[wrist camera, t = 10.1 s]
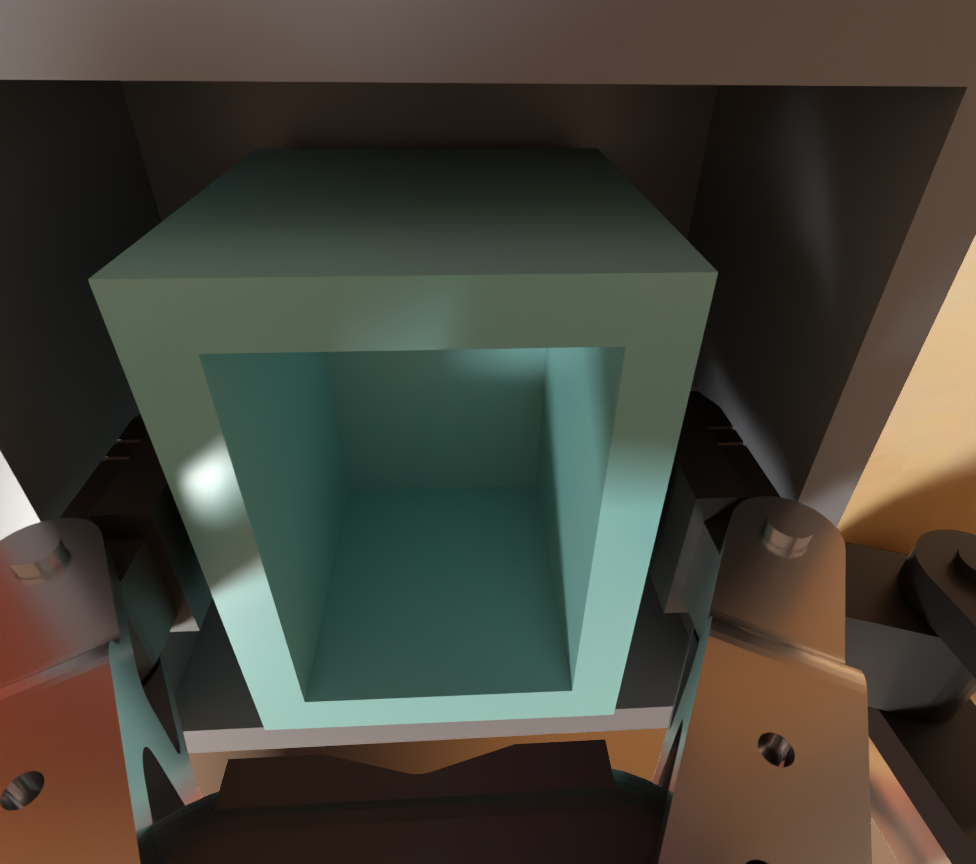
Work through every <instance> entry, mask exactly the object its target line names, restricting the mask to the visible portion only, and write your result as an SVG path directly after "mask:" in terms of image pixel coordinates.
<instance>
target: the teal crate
mask: <svg viewBox="0 0 976 864" xmlns="http://www.w3.org/2000/svg"><path fill="white" fill-rule="evenodd" d="M717 275H718V271H717V270H716V269H715V268H714V267H713V266H712V265H711V264H710V263H709V262H708V261H707V260H706V259H705V258H704V257H703V256H702V255H701V254H700V253H699V252H698V251H697V250H696V249H695V248H694V247H693V246H692V245H691V244H690V243H689V242H688V241H687V240H686V238H685V237H684V236H683V235H682V234H681V233H680V232H679V231H678V230H677V229H676V228H675V227H674V226H673V225H672V224H671V223H670V222H669V221H668V220H667V219H666V218H665V217H664V216H663V215H662V214H661V213H660V212H659V211H658V210H657V209H656V208H655V207H654V206H653V205H652V204H651V203H650V201H649V200H648V199H647V198H646V197H645V196H644V195H643V194H642V193H641V192H640V191H639V190H638V189H637V188H636V187H635V186H634V185H633V184H632V183H631V182H630V181H629V180H628V179H627V178H626V177H625V176H624V175H623V174H622V173H621V172H620V171H619V170H618V169H617V168H616V167H615V166H614V164H613V163H612V162H611V161H610V160H609V159H608V158H607V157H606V156H605V155H604V154H603V153H602V152H601V151H600V150H599V149H598V148H484V149H255V150H254V151H252V152H251V153H250V154H249V155H247V156H246V157H245V158H243V159H242V160H241V161H240V162H238V163H237V164H236V165H234V166H233V167H232V168H231V169H229V170H228V171H227V172H225V173H224V174H223V175H222V176H220V177H219V178H218V179H216V180H215V181H214V182H213V183H211V184H210V185H209V186H207V187H206V188H205V189H204V190H202V191H201V192H200V193H198V194H197V195H196V196H195V197H193V198H192V199H191V200H189V201H188V202H187V203H186V204H184V205H183V206H182V207H180V208H179V209H178V210H177V211H175V212H174V213H173V214H171V215H170V216H169V217H168V218H166V219H165V220H164V221H162V222H161V223H160V224H159V225H157V226H156V227H155V228H153V229H152V230H151V231H149V232H148V233H147V234H146V235H144V236H143V237H142V238H140V239H139V240H138V241H137V242H135V243H134V244H133V245H131V246H130V247H129V248H128V249H126V250H125V251H124V252H122V253H121V254H120V255H119V256H117V257H116V258H115V259H113V260H112V261H111V262H110V263H108V264H107V265H106V266H104V267H103V268H102V269H101V270H99V271H98V272H97V273H95V274H94V275H93V276H92V277H90V278H89V279H88V281H89V284H90V286H91V289H92V291H93V294H94V297H95V299H96V302H97V304H98V307H99V309H100V312H101V314H102V317H103V319H104V322H105V325H106V327H107V330H108V332H109V335H110V337H111V340H112V342H113V345H114V347H115V350H116V353H117V355H118V358H119V360H120V363H121V365H122V368H123V370H124V373H125V375H126V378H127V380H128V383H129V386H130V388H131V391H132V393H133V396H134V398H135V401H136V403H137V406H138V408H139V411H140V414H141V416H142V419H143V421H144V424H145V426H146V429H147V431H148V434H149V436H150V439H151V442H152V444H153V447H154V449H155V452H156V454H157V457H158V459H159V462H160V464H161V467H162V469H163V472H164V475H165V477H166V480H167V482H168V485H169V487H170V490H171V492H172V495H173V497H174V500H175V503H176V505H177V508H178V510H179V513H180V515H181V518H182V520H183V523H184V525H185V528H186V530H187V533H188V536H189V538H190V541H191V543H192V546H193V548H194V551H195V553H196V556H197V558H198V561H199V564H200V566H201V569H202V571H203V574H204V576H205V579H206V581H207V584H208V586H209V589H210V592H211V594H212V597H213V599H214V602H215V604H216V607H217V609H218V612H219V614H220V617H221V619H222V622H223V625H224V627H225V630H226V632H227V635H228V637H229V640H230V642H231V645H232V647H233V650H234V653H235V655H236V658H237V660H238V663H239V665H240V668H241V670H242V673H243V675H244V678H245V681H246V683H247V686H248V688H249V691H250V693H251V696H252V698H253V701H254V703H255V706H256V708H257V711H258V714H259V716H260V719H261V721H262V724H263V726H264V729H265V730H281V729H303V728H326V727H348V726H371V725H393V724H416V723H439V722H461V721H484V720H506V719H529V718H551V717H574V716H596V715H614V711H615V707H616V703H617V699H618V694H619V690H620V686H621V682H622V677H623V673H624V669H625V665H626V661H627V656H628V652H629V648H630V644H631V639H632V635H633V631H634V627H635V622H636V618H637V614H638V610H639V605H640V601H641V597H642V593H643V589H644V584H645V580H646V576H647V572H648V567H649V563H650V559H651V555H652V550H653V546H654V542H655V538H656V533H657V529H658V525H659V521H660V517H661V512H662V508H663V504H664V500H665V495H666V491H667V487H668V483H669V478H670V474H671V470H672V466H673V461H674V457H675V453H676V449H677V445H678V440H679V436H680V432H681V428H682V423H683V419H684V415H685V411H686V406H687V402H688V398H689V394H690V390H691V385H692V381H693V377H694V373H695V368H696V364H697V360H698V356H699V351H700V347H701V343H702V339H703V334H704V330H705V326H706V322H707V318H708V313H709V309H710V305H711V301H712V296H713V292H714V288H715V284H716V279H717Z"/></svg>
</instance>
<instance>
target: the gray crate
mask: <svg viewBox="0 0 976 864" xmlns="http://www.w3.org/2000/svg"><path fill="white" fill-rule="evenodd" d="M484 148H598V149H599V150H600V151H601V152H602V153H603V154H604V155H605V156H606V157H607V158H608V159H609V160H610V161H611V162H612V163H613V164H614V166H615V167H616V168H617V169H618V170H619V171H620V172H621V173H622V174H623V175H624V176H625V177H626V178H627V179H628V180H629V181H630V182H631V183H632V184H633V185H634V186H635V187H636V188H637V189H638V190H639V191H640V192H641V193H642V194H643V195H644V196H645V197H646V198H647V199H648V200H649V201H650V203H651V204H652V205H653V206H654V207H655V208H656V209H657V210H658V211H659V212H660V213H661V214H662V215H663V216H664V217H665V218H666V219H667V220H668V221H669V222H670V223H671V224H672V225H673V226H674V227H675V228H676V229H677V230H678V231H679V232H680V233H681V234H682V235H683V236H684V237H685V238H686V240H687V241H688V242H689V243H690V244H691V245H692V246H693V247H694V248H695V249H696V250H697V251H698V252H699V253H700V254H701V255H702V256H703V257H704V258H705V259H706V260H707V261H708V262H709V263H710V264H711V265H712V266H713V267H714V268H715V269H716V270H717V271H718V275H717V279H716V284H715V288H714V292H713V296H712V301H711V305H710V309H709V313H708V318H707V322H706V326H705V330H704V334H703V339H702V343H701V347H700V351H699V356H698V360H697V364H696V368H695V373H694V377H693V381H692V385H691V390H690V391H698V392H700V393H701V394H703V395H704V396H705V397H707V398H708V399H710V400H711V401H712V402H714V403H715V404H717V405H718V406H719V407H720V408H721V409H722V411H723V412H724V413H725V415H726V416H727V418H728V419H729V421H730V422H731V424H732V425H733V430H736V431H737V433H738V434H739V436H740V437H741V439H742V440H743V445H746V446H747V448H748V449H749V451H750V452H751V454H752V455H753V456H754V458H755V459H756V461H757V462H758V464H759V465H760V467H761V468H762V470H763V471H764V473H765V474H766V476H767V477H768V479H769V480H770V482H771V483H772V485H773V486H774V488H775V489H776V491H777V492H778V494H779V495H780V497H781V498H786V499H790V500H793V501H796V502H799V503H802V504H804V505H806V506H808V507H810V508H812V509H814V510H816V511H818V512H819V513H820V514H822V515H823V516H825V517H826V518H827V519H828V520H829V521H831V522H832V523H833V524H834V526H835V527H837V525H838V523H839V521H840V519H841V517H842V515H843V513H844V511H845V508H846V506H847V504H848V502H849V500H850V498H851V496H852V494H853V492H854V489H855V487H856V485H857V483H858V481H859V479H860V477H861V475H862V473H863V470H864V468H865V466H866V464H867V462H868V460H869V458H870V456H871V454H872V452H873V449H874V447H875V445H876V443H877V441H878V439H879V437H880V435H881V433H882V430H883V428H884V426H885V424H886V422H887V420H888V418H889V416H890V414H891V411H892V409H893V407H894V405H895V403H896V401H897V399H898V397H899V395H900V393H901V390H902V388H903V386H904V384H905V382H906V380H907V378H908V376H909V374H910V371H911V369H912V367H913V365H914V363H915V361H916V359H917V357H918V355H919V352H920V350H921V348H922V346H923V344H924V342H925V340H926V338H927V336H928V333H929V331H930V329H931V327H932V325H933V323H934V321H935V319H936V317H937V315H938V312H939V310H940V308H941V306H942V304H943V302H944V300H945V298H946V296H947V293H948V291H949V289H950V287H951V285H952V283H953V281H954V279H955V277H956V274H957V272H958V270H959V268H960V266H961V264H962V262H963V260H964V258H965V255H966V253H967V251H968V249H969V247H970V245H971V243H972V241H973V239H974V237H975V234H976V0H0V540H2V539H3V538H5V537H7V536H9V535H10V534H12V533H14V532H16V531H18V530H20V529H22V528H25V527H27V526H30V525H33V524H35V523H39V522H42V521H46V520H51V519H56V518H60V516H61V515H62V514H63V512H64V511H65V510H66V508H67V507H68V506H69V504H70V503H71V501H72V500H73V499H74V497H75V496H76V495H77V493H78V492H79V491H80V489H81V488H82V487H83V485H84V484H85V483H86V481H87V480H88V478H89V477H90V476H91V474H92V473H93V472H94V470H95V469H96V468H97V466H98V465H99V464H100V462H101V461H105V456H106V454H107V453H108V451H109V450H110V449H111V447H112V446H113V445H114V444H115V443H118V440H117V439H118V438H119V437H120V435H121V434H122V433H123V431H124V430H125V428H126V427H127V426H128V424H129V423H130V422H131V420H132V419H133V418H135V417H136V416H138V415H139V414H140V411H139V408H138V406H137V403H136V401H135V398H134V396H133V393H132V391H131V388H130V386H129V383H128V380H127V378H126V375H125V373H124V370H123V368H122V365H121V363H120V360H119V358H118V355H117V353H116V350H115V347H114V345H113V342H112V340H111V337H110V335H109V332H108V330H107V327H106V325H105V322H104V319H103V317H102V314H101V312H100V309H99V307H98V304H97V302H96V299H95V297H94V294H93V291H92V289H91V286H90V284H89V281H88V279H89V278H90V277H92V276H93V275H94V274H95V273H97V272H98V271H99V270H101V269H102V268H103V267H104V266H106V265H107V264H108V263H110V262H111V261H112V260H113V259H115V258H116V257H117V256H119V255H120V254H121V253H122V252H124V251H125V250H126V249H128V248H129V247H130V246H131V245H133V244H134V243H135V242H137V241H138V240H139V239H140V238H142V237H143V236H144V235H146V234H147V233H148V232H149V231H151V230H152V229H153V228H155V227H156V226H157V225H159V224H160V223H161V222H162V221H164V220H165V219H166V218H168V217H169V216H170V215H171V214H173V213H174V212H175V211H177V210H178V209H179V208H180V207H182V206H183V205H184V204H186V203H187V202H188V201H189V200H191V199H192V198H193V197H195V196H196V195H197V194H198V193H200V192H201V191H202V190H204V189H205V188H206V187H207V186H209V185H210V184H211V183H213V182H214V181H215V180H216V179H218V178H219V177H220V176H222V175H223V174H224V173H225V172H227V171H228V170H229V169H231V168H232V167H233V166H234V165H236V164H237V163H238V162H240V161H241V160H242V159H243V158H245V157H246V156H247V155H249V154H250V153H251V152H252V151H254V150H255V149H484ZM693 628H694V625H693V622H692V620H691V617H690V615H689V612H685V613H663V610H662V607H661V604H660V601H659V599H658V596H657V593H656V590H655V587H654V585H653V582H652V579H651V576H650V573H649V571H648V572H647V576H646V580H645V584H644V589H643V593H642V597H641V601H640V605H639V610H638V614H637V618H636V622H635V627H634V631H633V635H632V639H631V644H630V648H629V652H628V656H627V661H626V665H625V669H624V673H623V677H622V682H621V686H620V690H619V694H618V699H617V703H616V707H615V711H614V715H596V716H574V717H551V718H529V719H506V720H484V721H461V722H439V723H416V724H393V725H371V726H348V727H326V728H303V729H281V730H265V729H264V726H263V724H262V721H261V719H260V716H259V714H258V711H257V708H256V706H255V703H254V701H253V698H252V696H251V693H250V691H249V688H248V686H247V683H246V681H245V678H244V675H243V673H242V670H241V668H240V665H239V663H238V660H237V658H236V655H235V653H234V650H233V647H232V645H231V642H230V640H229V637H228V635H227V632H226V630H225V627H224V625H223V622H222V619H221V617H220V614H219V612H218V609H217V607H216V604H215V602H214V599H213V597H212V600H211V603H210V605H209V608H208V610H207V613H206V615H205V618H204V621H203V623H202V626H201V628H200V631H180V632H169V635H168V637H167V639H166V641H165V644H164V646H163V648H162V651H161V652H162V654H163V656H164V658H165V660H166V663H167V666H168V670H169V675H170V679H171V683H172V687H173V691H174V696H175V700H176V704H177V708H178V713H179V717H180V721H181V725H182V729H183V734H184V738H185V742H186V746H187V751H188V753H201V752H220V751H237V750H256V749H257V750H258V749H276V748H295V747H314V746H333V745H351V744H371V743H389V742H406V741H407V742H408V741H427V740H446V739H463V738H464V739H465V738H482V737H502V736H520V735H539V734H556V733H557V734H558V733H577V732H596V731H615V730H634V729H651V728H668V724H669V720H670V716H671V712H672V708H673V704H674V700H675V696H676V692H677V688H678V684H679V680H680V676H681V672H682V668H683V664H684V660H685V656H686V652H687V648H688V644H689V640H690V637H691V634H692V631H693Z"/></svg>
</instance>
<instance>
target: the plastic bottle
mask: <svg viewBox="0 0 976 864" xmlns="http://www.w3.org/2000/svg"><path fill="white" fill-rule="evenodd" d="M901 554H902V553H901ZM970 699H971V700H972V701H973V703H974V704H975V705H976V691H975V693H974V694H973V695H972V696H971V697H970ZM868 738H869V736H868ZM869 777H870V815H871V818H872V819H873V821H874V823H875V824H876V826H877V828H878V829H879V831H880V833H881V834H882V836H883V837H884V839H885V841H886V842H887V844H888V846H889V848H890V849H891V851H892V852H893V854H894V856H895V857H896V859H897V861H898V862H899V864H952V863H951V862H950V860H949V859H948V857H947V856H946V854H945V853H944V851H943V850H942V848H941V847H940V845H939V844H938V842H937V840H936V839H935V837H934V836H933V834H932V833H931V831H930V830H929V828H928V827H927V825H926V824H925V822H924V821H923V819H922V817H921V816H920V814H919V813H918V811H917V810H916V808H915V807H914V805H913V804H912V802H911V801H910V799H909V797H908V796H907V794H906V793H905V791H904V790H903V788H902V787H901V785H900V784H899V782H898V781H897V779H896V778H895V776H894V774H893V773H892V771H891V770H890V768H889V767H888V765H887V764H886V762H885V761H884V759H883V758H882V756H881V755H880V753H879V751H878V750H877V748H876V747H875V745H874V744H873V742H872V741H871V739H870V738H869Z"/></svg>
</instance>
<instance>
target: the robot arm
mask: <svg viewBox="0 0 976 864" xmlns="http://www.w3.org/2000/svg"><path fill="white" fill-rule="evenodd" d="M117 440H118V443H115V444H114V445H113V446H112V447H111V449H110V450H109V451H108V453H107V454H106V456H105V461H101V462H100V464H99V465H98V466H97V468H96V469H95V470H94V472H93V473H92V474H91V476H90V477H89V478H88V480H87V481H86V483H85V484H84V485H83V487H82V488H81V489H80V491H79V492H78V493H77V495H76V496H75V497H74V499H73V500H72V501H71V503H70V504H69V506H68V507H67V508H66V510H65V511H64V512H63V514H62V515H61V516H60V518H56V519H51V520H46V521H42V522H39V523H35V524H33V525H30V526H27V527H25V528H22V529H20V530H18V531H16V532H14V533H12V534H10V535H9V536H7V537H5V538H3V539H2V540H0V864H872V853H871V815H870V777H869V738H870V739H871V741H872V742H873V744H874V745H875V747H876V748H877V750H878V751H879V753H880V755H881V756H882V758H883V759H884V761H885V762H886V764H887V765H888V767H889V768H890V770H891V771H892V773H893V774H894V776H895V778H896V779H897V781H898V782H899V784H900V785H901V787H902V788H903V790H904V791H905V793H906V794H907V796H908V797H909V799H910V801H911V802H912V804H913V805H914V807H915V808H916V810H917V811H918V813H919V814H920V816H921V817H922V819H923V821H924V822H925V824H926V825H927V827H928V828H929V830H930V831H931V833H932V834H933V836H934V837H935V839H936V840H937V842H938V844H939V845H940V847H941V848H942V850H943V851H944V853H945V854H946V856H947V857H948V859H949V860H950V862H951V863H952V864H976V705H975V704H974V703H973V701H972V700H971V699H970V697H971V696H972V695H973V694H974V693H975V691H976V535H974V534H970V533H966V532H961V531H954V530H936V531H931V532H928V533H926V534H924V535H922V536H921V537H920V538H919V539H918V540H917V542H916V544H915V545H914V547H913V548H912V550H911V552H910V553H909V555H906V554H901V553H896V552H891V551H886V550H881V549H876V548H871V547H866V546H861V545H856V544H852V543H847V542H844V540H843V537H842V535H841V534H840V532H839V530H838V529H837V528H836V527H835V526H834V524H833V523H832V522H831V521H829V520H828V519H827V518H826V517H825V516H823V515H822V514H820V513H819V512H818V511H816V510H814V509H812V508H810V507H808V506H806V505H804V504H802V503H799V502H796V501H793V500H790V499H786V498H781V497H780V495H779V494H778V492H777V491H776V489H775V488H774V486H773V485H772V483H771V482H770V480H769V479H768V477H767V476H766V474H765V473H764V471H763V470H762V468H761V467H760V465H759V464H758V462H757V461H756V459H755V458H754V456H753V455H752V454H751V452H750V451H749V449H748V448H747V446H746V445H743V440H742V439H741V437H740V436H739V434H738V433H737V431H736V430H733V425H732V424H731V422H730V421H729V419H728V418H727V416H726V415H725V413H724V412H723V411H722V409H721V408H720V407H719V406H718V405H717V404H715V403H714V402H712V401H711V400H710V399H708V398H707V397H705V396H704V395H703V394H701V393H700V392H698V391H690V394H689V398H688V402H687V406H686V411H685V415H684V419H683V423H682V428H681V432H680V436H679V440H678V445H677V449H676V453H675V457H674V461H673V466H672V470H671V474H670V478H669V483H668V487H667V491H666V495H665V500H664V504H663V508H662V512H661V517H660V521H659V525H658V529H657V533H656V538H655V542H654V546H653V550H652V555H651V559H650V563H649V567H648V571H649V573H650V576H651V579H652V582H653V585H654V587H655V590H656V593H657V596H658V599H659V601H660V604H661V607H662V610H663V613H685V612H689V615H690V617H691V620H692V622H693V625H694V628H693V631H692V634H691V637H690V640H689V644H688V648H687V652H686V656H685V660H684V664H683V668H682V672H681V676H680V680H679V684H678V688H677V692H676V696H675V700H674V704H673V708H672V712H671V716H670V720H669V724H668V728H667V732H666V736H665V740H664V744H663V747H662V751H661V755H660V758H659V761H658V764H657V768H656V771H655V775H654V778H653V781H652V782H650V781H648V780H646V779H643V778H641V777H638V776H635V775H632V774H630V773H627V772H624V771H620V770H615V769H611V765H610V760H609V756H608V751H607V746H606V742H605V740H590V741H589V740H588V741H572V742H571V741H569V742H550V743H531V744H514V745H511V746H508V747H506V748H502V749H500V750H496V751H493V752H490V753H487V754H484V755H481V756H478V757H475V758H472V759H469V760H466V761H463V762H460V763H457V764H454V765H451V766H448V767H445V768H442V769H439V770H436V771H433V772H430V773H425V774H416V775H415V774H408V773H404V772H399V771H395V770H390V769H386V768H381V767H377V766H372V765H368V764H363V763H359V762H355V761H350V760H346V759H341V758H337V757H333V756H328V755H324V754H321V755H303V756H284V757H265V758H245V759H228V763H227V766H226V770H225V773H224V777H223V780H222V784H221V787H220V791H219V792H216V793H213V794H210V795H208V796H206V797H203V798H202V795H201V793H200V790H199V788H198V785H197V783H196V780H195V777H194V774H193V770H192V767H191V763H190V759H189V755H188V751H187V746H186V742H185V738H184V734H183V729H182V725H181V721H180V717H179V713H178V708H177V704H176V700H175V696H174V691H173V687H172V683H171V679H170V675H169V670H168V666H167V663H166V660H165V658H164V656H163V654H162V652H161V651H162V648H163V646H164V644H165V641H166V639H167V637H168V635H169V632H180V631H200V628H201V626H202V623H203V621H204V618H205V615H206V613H207V610H208V608H209V605H210V603H211V600H212V594H211V592H210V589H209V586H208V584H207V581H206V579H205V576H204V574H203V571H202V569H201V566H200V564H199V561H198V558H197V556H196V553H195V551H194V548H193V546H192V543H191V541H190V538H189V536H188V533H187V530H186V528H185V525H184V523H183V520H182V518H181V515H180V513H179V510H178V508H177V505H176V503H175V500H174V497H173V495H172V492H171V490H170V487H169V485H168V482H167V480H166V477H165V475H164V472H163V469H162V467H161V464H160V462H159V459H158V457H157V454H156V452H155V449H154V447H153V444H152V442H151V439H150V436H149V434H148V431H147V429H146V426H145V424H144V421H143V419H142V416H141V414H139V415H138V416H136V417H135V418H133V419H132V420H131V422H130V423H129V424H128V426H127V427H126V428H125V430H124V431H123V433H122V434H121V435H120V437H119V438H118V439H117ZM868 736H869V738H868Z"/></svg>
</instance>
